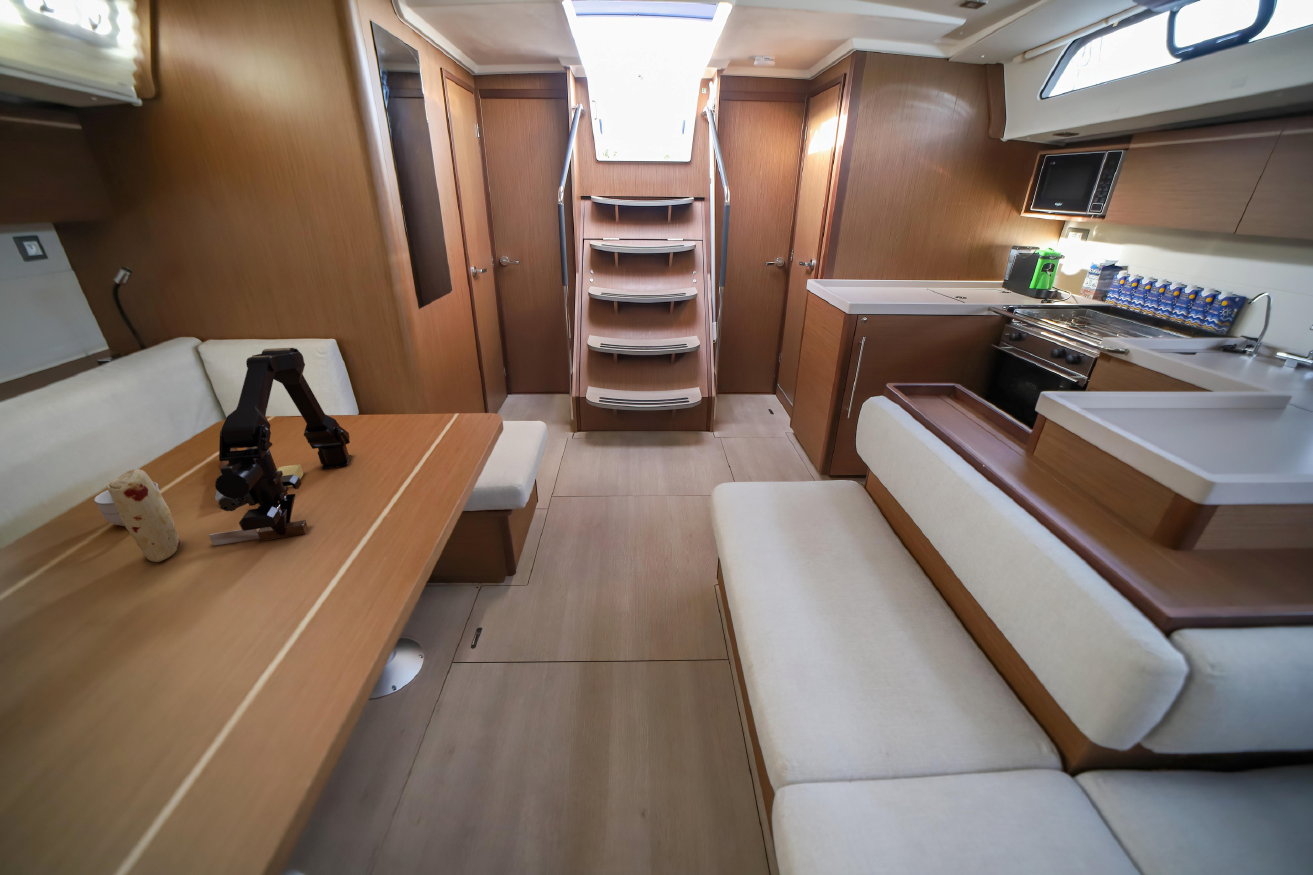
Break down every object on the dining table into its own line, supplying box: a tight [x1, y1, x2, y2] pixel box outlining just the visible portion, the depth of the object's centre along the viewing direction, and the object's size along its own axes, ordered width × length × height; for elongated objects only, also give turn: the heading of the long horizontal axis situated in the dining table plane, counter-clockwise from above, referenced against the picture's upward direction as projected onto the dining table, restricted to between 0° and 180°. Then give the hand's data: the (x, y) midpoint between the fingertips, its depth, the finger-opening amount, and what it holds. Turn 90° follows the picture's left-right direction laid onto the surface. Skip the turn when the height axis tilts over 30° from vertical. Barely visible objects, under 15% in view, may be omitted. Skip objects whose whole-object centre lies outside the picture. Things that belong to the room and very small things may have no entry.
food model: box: [106, 468, 181, 563], centre depth 106 cm, size 10×7×20 cm
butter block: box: [277, 464, 304, 488], centre depth 138 cm, size 5×7×3 cm
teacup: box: [93, 481, 162, 527], centre depth 119 cm, size 14×11×8 cm
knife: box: [208, 519, 309, 546], centre depth 115 cm, size 18×2×3 cm, turn 107°
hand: (284, 531), depth 117 cm, fingers closed on knife, 2 cm apart
